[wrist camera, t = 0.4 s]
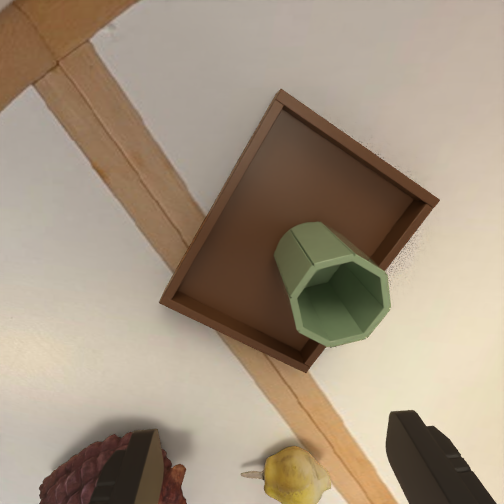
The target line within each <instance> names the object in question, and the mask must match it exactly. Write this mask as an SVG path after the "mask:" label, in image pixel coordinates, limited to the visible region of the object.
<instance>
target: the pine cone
mask: <svg viewBox="0 0 504 504" xmlns="http://www.w3.org/2000/svg"><path fill="white" fill-rule="evenodd" d="M132 433H133V432H129V433H127V434H125V435H124V436H123V437H122V438H120V437H117V436H116V435H115V434H113V435H111V436H109V437H108V438H107V439H105V440H104V441H103V442H98V441H97V442H94V443H92V444H90V445H89V446H88V447H87V448H84V449H83V450H82V451H81V452H79V454H78V455H74V456H72V457H71V458H70V460H69V461H68V462H66V463H64V464H62V465H61V466H59V467H58V468H57V469H56V470H54V471H53V472H52V473H51V475H50V476H48V477H46V478H45V479H44V480H43V484H41V485H40V487H39V490H40V495H39V496H40V499H41V501H40V503H39V504H88V503H90V498H91V495H92V493H93V490H94V488H95V487H96V483H97V480H98V478H99V475H100V473H101V470H102V468H103V466H104V464H105V463H106V462H107V461H108V459H109V458H110V457H111V456H112V454H113V453H114V452H115V451H116V450H124V449H127V446H128V443H129V440H130V438H131V435H132ZM160 445H161V442H160ZM161 451H162V456H163V464H164V471H163V481H162V486H161V491H160V496H159V501H158V504H187V503H186V499H185V498H184V497H183V492H182V489H181V485H182V482H183V479H184V475H185V472H186V468H185V467H184V465H181V464H178V465H175V466H174V467H173V468H171V467H172V463H171V461H170V460H169V459H168V458H167V457H166V454H167V453H166V452H165V450H163V449H161Z"/></svg>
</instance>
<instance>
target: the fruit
mask: <svg viewBox="0 0 504 504" xmlns="http://www.w3.org/2000/svg"><path fill="white" fill-rule="evenodd" d="M241 476H243V477H247V478H259V479H263V480H265V485H264V491H265V493H266V494H267V495H268V496H270V497H272V498H274V499H276V500H278V501H279V502H281V503H282V504H317V503H318V502H319V500H320V499H321V496H322V494H323V492H324V491H325V490H328V489H331V482H330V476H329V473H328V471H327V470H326V469H325V468H324V467H323V466H322V465H320V464H319V463H318V462H317V461H316V460H315V459H314V458H313V456H312V455H311V454H310V453H309V452H307V451H306V450H304V449H302V448H300V447H297V446H291V447H287V448H285V449H283V450H282V451H280V452H278V453H277V454H275V455H272V456H270V457H269V458H267V460H266V463H265V466H264V470H263V471H262V472H258V471H252V472H245V473H241Z"/></svg>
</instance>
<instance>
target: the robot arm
mask: <svg viewBox="0 0 504 504" xmlns="http://www.w3.org/2000/svg"><path fill="white" fill-rule="evenodd" d="M386 453H387V457H388V460H389V463H390V465H391V467H392V469H393V471H394V473H395V476H396V478H397V480H398V482H399V484H400V486H401V488H402V490H403V492H404V494H405V496H406V498H407V500H408V502H409V504H496V502H495V501H494V500H493V498H492V497H491V495H490V494H489V493H488V491H487V490H486V489H485V487H484V486H483V485H482V483H481V482H480V480H479V479H478V478H477V476H476V475H475V474H474V472H473V471H471V469H470V467H469V465H468V464H467V463H466V461H465V460H464V458H462V457H461V454H460V453H459V452H458V450H457V449H456V447H455V446H454V445H453V443H452V442H451V441H450V439H449V438H448V437H446V436H445V435H444V434H443V433H442V432H440V431H439V430H438V429H437V428H435V427H434V426H426V425H425V424H424V423H423V421H422V420H421V418H420V417H419V415H418V414H417V413H416V412H415V411H414V410H406V411H393V412H391V413H390V415H389V422H388V429H387V437H386ZM163 471H164V464H163V456H162V451H161V445H160V439H159V434H158V430H157V429H147V430H135V431H133V433H132V435H131V438H130V440H129V443H128V446H127V449H124V450H116V451H115V452H114V453H113V454H112V456H111V457H110V458H109V459H108V461H107V462H106V463H105V464H104V466H103V468H102V470H101V473H100V475H99V478H98V480H97V483H96V487H95V488H94V490H93V493H92V495H91V498H90V503H88V504H158V501H159V496H160V491H161V486H162V481H163Z"/></svg>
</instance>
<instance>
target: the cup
mask: <svg viewBox="0 0 504 504" xmlns="http://www.w3.org/2000/svg"><path fill="white" fill-rule="evenodd" d="M274 259H275V265H276V268H277V272H278V276H279V280H280V283H281V286H282V289H283V292H284V295H285V298H286V300H287V303H288V306H289V309H290V312H291V315H292V318H293V321H294V324H295V327H296V330H297V331H298V332H299V333H301V334H303V335H305V336H307V337H309V338H311V339H313V340H314V341H316V342H318V343H320V344H322V345H324V346H326V347H329V346H330V348H331V347H335V346H339V345H343V344H347V343H352V342H356V341H360V340H364V339H366V337H367V338H368V337H369V335H370V334H371V333H372V332H373V330H374V329H375V328H376V327H377V326H378V324H379V323H380V322H381V321H382V319H383V318H384V317H385V316H386V314H387V313H388V312H389V311H390V309H389V308H391V303H390V294H389V285H388V276H387V274H386V272H385V271H384V270H383V269H382V268H380V267H379V266H378V265H377V264H376V263H375V262H373V261H372V260H371V259H370V258H369V257H368V256H366V255H365V254H364V253H363V252H362V251H361V250H359V249H358V248H357V247H356V246H355V245H354V244H352V243H351V242H350V241H349V240H348V239H347V238H345V237H344V236H343V235H342V234H340V233H338V232H337V231H335V230H334V229H332V228H331V227H329V226H327V225H325V224H324V223H322V222H307V223H302V224H299V225H297V226H295V227H293V228H291V229H290V230H288V231H287V232H286V233H285V234H284V235H283V237H282V238H281V239H280V241H279V243H278V245H277V247H276V250H275V252H274Z"/></svg>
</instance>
